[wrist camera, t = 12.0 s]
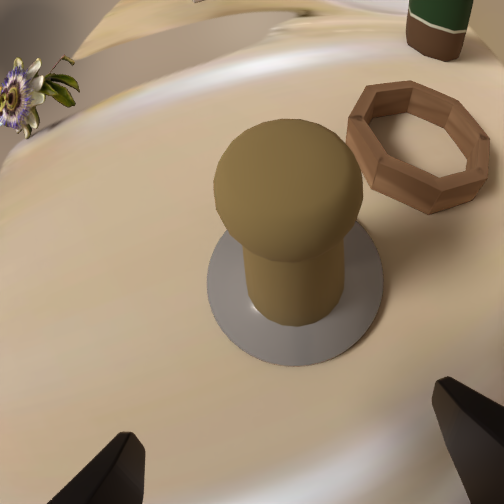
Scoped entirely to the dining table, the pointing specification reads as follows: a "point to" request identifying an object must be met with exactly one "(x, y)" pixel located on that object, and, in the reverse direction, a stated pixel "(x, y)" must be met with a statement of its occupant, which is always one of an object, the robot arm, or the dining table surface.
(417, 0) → the beer bottle
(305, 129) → the cork
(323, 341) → the slate coaster
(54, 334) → the dining table surface
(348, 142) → the guard ring
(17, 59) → the passion flower
